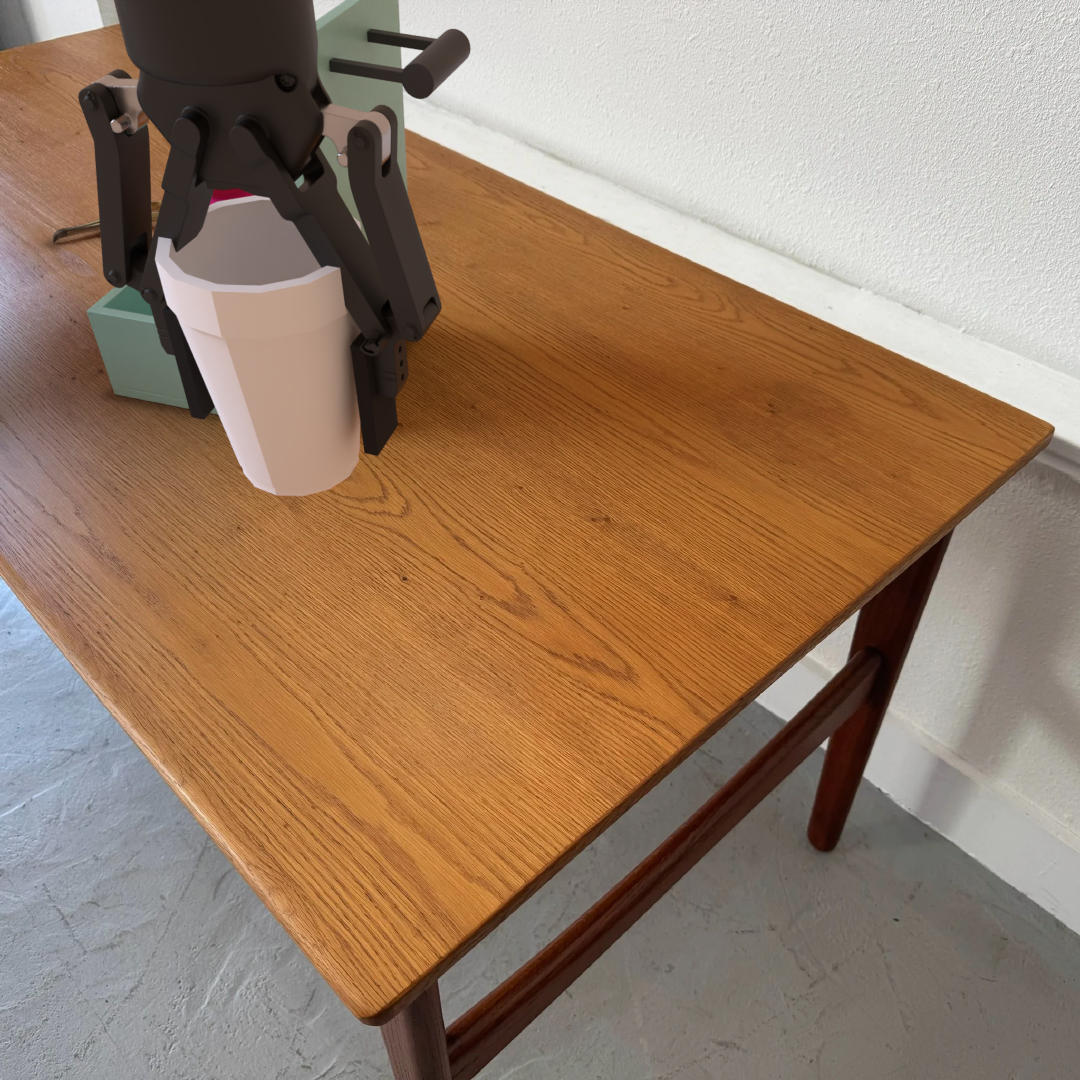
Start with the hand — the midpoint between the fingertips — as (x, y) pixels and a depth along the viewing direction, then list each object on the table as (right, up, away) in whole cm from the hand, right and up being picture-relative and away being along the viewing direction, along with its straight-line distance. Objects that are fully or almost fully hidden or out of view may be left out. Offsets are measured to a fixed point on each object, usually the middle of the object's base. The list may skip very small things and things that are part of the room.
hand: (294, 421), depth 55 cm
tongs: (-30, +26, +52) cm, 65 cm away
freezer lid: (-1, +21, +19) cm, 28 cm away
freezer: (-10, +9, +34) cm, 37 cm away
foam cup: (0, -2, +2) cm, 3 cm away
